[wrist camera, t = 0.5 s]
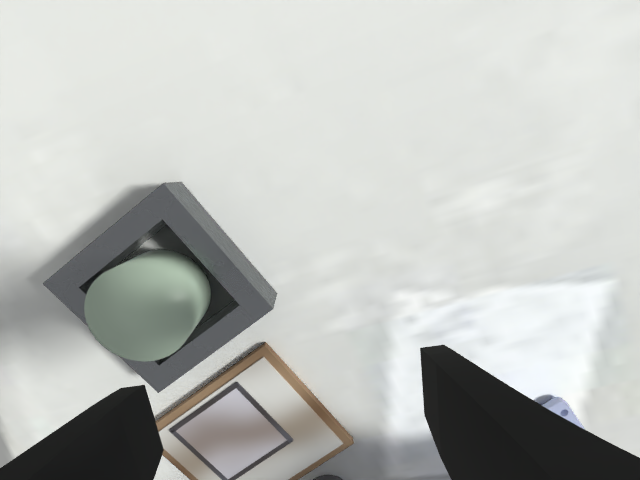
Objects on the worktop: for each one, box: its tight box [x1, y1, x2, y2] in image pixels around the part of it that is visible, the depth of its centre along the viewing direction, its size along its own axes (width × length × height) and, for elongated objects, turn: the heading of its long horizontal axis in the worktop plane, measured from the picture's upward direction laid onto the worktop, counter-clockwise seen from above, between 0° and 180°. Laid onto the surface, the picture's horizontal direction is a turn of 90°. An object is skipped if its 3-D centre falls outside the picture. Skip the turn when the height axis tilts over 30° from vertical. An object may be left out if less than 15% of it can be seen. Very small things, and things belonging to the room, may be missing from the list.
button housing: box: [43, 182, 277, 393], centre depth 16 cm, size 8×8×2 cm
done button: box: [84, 249, 211, 361], centre depth 14 cm, size 5×5×3 cm
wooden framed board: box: [155, 342, 354, 480], centre depth 19 cm, size 9×10×1 cm
